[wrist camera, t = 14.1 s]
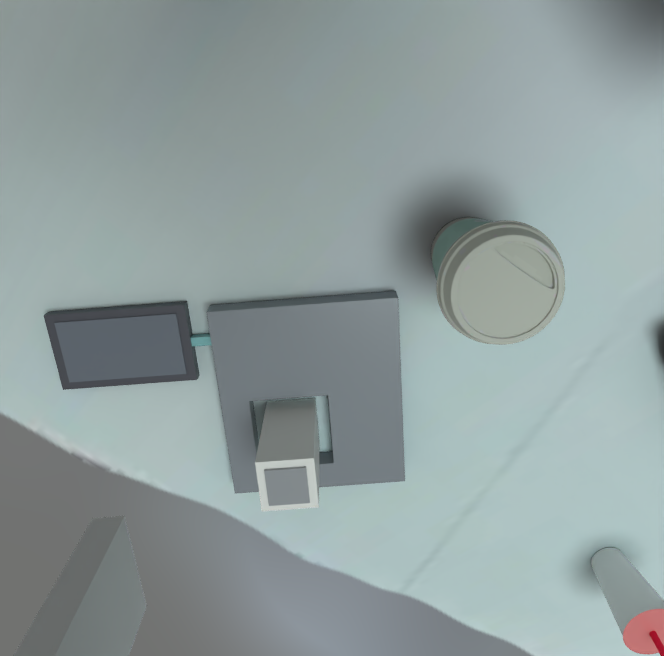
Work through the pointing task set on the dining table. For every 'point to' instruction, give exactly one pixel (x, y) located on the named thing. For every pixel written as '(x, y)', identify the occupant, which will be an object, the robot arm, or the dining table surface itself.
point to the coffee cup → (497, 279)
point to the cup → (631, 601)
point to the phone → (124, 345)
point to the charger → (289, 456)
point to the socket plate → (315, 379)
